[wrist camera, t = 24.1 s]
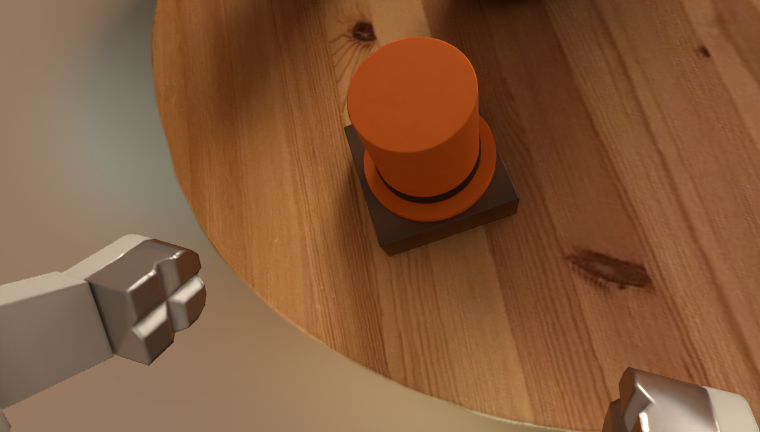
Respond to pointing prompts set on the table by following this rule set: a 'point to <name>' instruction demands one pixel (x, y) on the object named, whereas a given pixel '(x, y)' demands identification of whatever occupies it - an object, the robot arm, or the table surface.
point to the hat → (421, 129)
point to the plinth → (410, 234)
